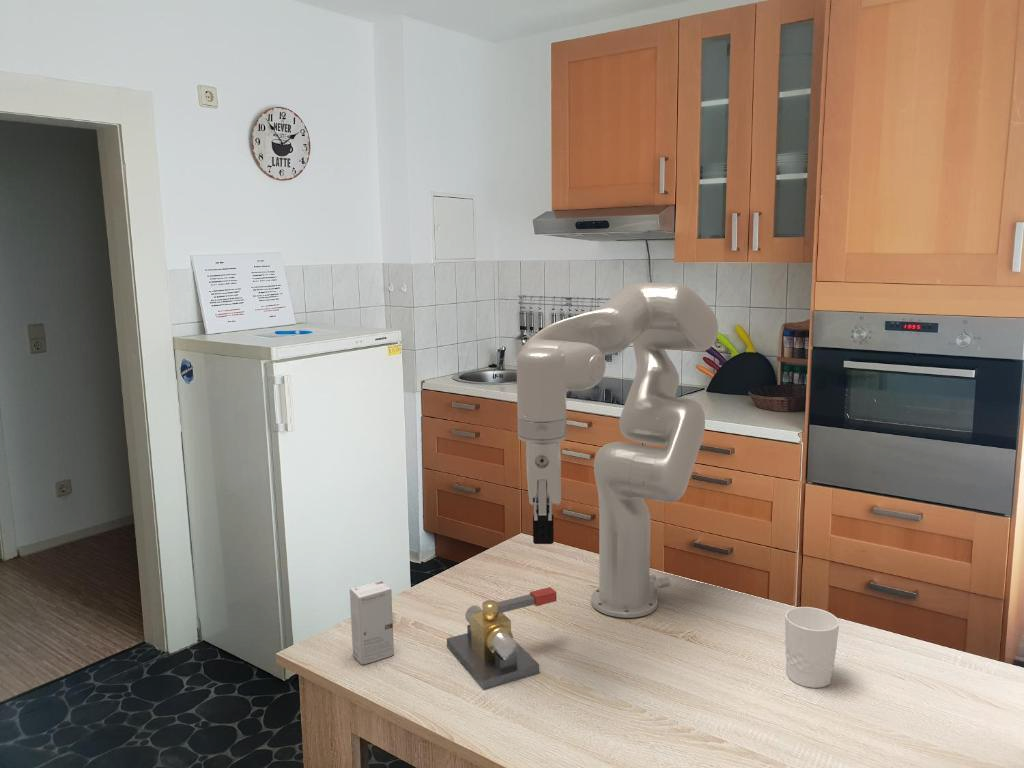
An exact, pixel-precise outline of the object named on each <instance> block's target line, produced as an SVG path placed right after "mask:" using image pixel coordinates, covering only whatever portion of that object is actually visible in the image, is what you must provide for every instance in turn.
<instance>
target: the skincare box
mask: <svg viewBox="0 0 1024 768" xmlns="http://www.w3.org/2000/svg"><path fill="white" fill-rule="evenodd" d="M392 594H393V593H392V588H391V587H389V585H387V584H386V583H385V582H383V581H382V580H380V581H375V582H371V583H365V584H363V585H360V586H356V587H350V588H349V598H350V599H349V602H350V603H349V604H350V606H349V607H350V623H351V626H350V628H351V641H352V656H354V657H355V659H356V660H357V662H358V663H360V665H362V666H364V665H366V664H369V663H373V662H377V661H380V660H383V659H387V658H390V657H393V656H394V654H395V650H394V649H395V646H394V645H395V642H394V626H393V625H394V624H393V623H394V622H393V619H394V618H393V600H392V599H393V598H392V597H393V595H392Z"/></svg>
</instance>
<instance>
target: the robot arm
mask: <svg viewBox="0 0 1024 768" xmlns="http://www.w3.org/2000/svg"><path fill="white" fill-rule="evenodd" d="M718 333H719V324H718V319H717V316H716V314H715V312H714V310H713V309H712V307H710V305H708V303H707V302H705V301H704V299H702V297H700V295H699V294H697V293H696V291H694V290H693V289H691V288H690V287H688V286H687V285H685V284H682V283H677V282H646V281H644V282H641V281H640V282H634V283H631V284H629V285H627V286H625V287H624V288H622V289H620V290H619V291H618V292H616V293H615V294H614V295H613V296H612V297H610V298H609V299H608V300H606V302H604V303H603V304H601V305H600V306H599V307H598V308H595V309H593V310H589V311H586V312H583V313H580V314H577V315H574V316H571V317H568V318H565V319H562V320H559V321H555V322H554V323H551V324H549V325H547V326H545V327H543V328H541V329H540V330H539V331H538V332H536V333H534V335H532V336H531V337H529V339H528V340H526V342H525V343H524V344H523V346H522V348H521V349H520V351H519V353H518V355H517V358H516V390H517V391H516V395H517V397H516V399H517V402H516V404H517V439H518V440H520V441H522V442H525V461H526V478H527V479H526V480H527V492H528V493H527V495H528V501H529V504H530V505H532V506H533V515H532V517H533V518H532V542H533V543H532V544H534V545H553V544H554V542H555V539H554V537H555V536H554V533H555V532H554V514H553V509H552V507H553V505H556V506H559V505H561V503H562V455H561V454H562V453H561V442H563V441H565V440H566V439H567V438H568V437H567V436H568V435H567V393H568V392H572V391H573V392H574V391H575V392H577V391H586V390H590V389H592V388H594V387H595V386H597V385H598V384H599V383H600V382H601V380H602V379H603V378H604V375H605V372H606V365H607V364H606V359H605V356H608V355H612V354H616V353H619V352H620V353H621V352H622V351H624V350H626V349H627V348H628V347H629V346H630V345H631V344H632V347H633V351H634V355H635V361H636V370H635V376H634V378H633V380H632V384H631V385H630V390H629V391H628V395H627V398H626V400H625V403H624V405H623V408H622V411H621V414H620V417H619V422H618V423H619V431H620V433H621V435H622V436H623V437H625V438H626V439H628V440H630V441H632V442H636V443H632V442H626V441H613V442H608V443H606V444H605V445H603V446H601V447H600V448H599V450H597V452H596V454H595V457H594V461H593V473H594V480H595V484H596V489H597V495H598V509H599V511H598V516H599V521H598V523H599V525H598V527H599V528H598V530H599V533H598V534H599V535H598V536H599V538H598V539H599V542H598V543H599V545H598V546H599V550H598V552H599V553H598V555H599V557H598V558H599V561H598V564H599V566H598V567H599V568H598V570H599V572H598V577H599V578H598V579H599V580H598V582H599V583H598V584H599V585H598V588H596V589H595V590H594V591H592V593H591V595H590V603H591V605H592V606H593V608H594V609H595V610H597V612H600V613H602V614H604V615H606V616H610V617H615V618H624V619H632V618H641V617H644V616H646V615H647V616H648V615H649V614H651V613H653V612H654V611H655V610H656V609H657V607H658V597H657V595H656V594H655V593H656V592H657V591H658V589H663V588H664V589H665V588H667V587H670V586H671V581H670V578H669V577H668V576H661V577H660V578H657V577H656V575H655V574H650V572H651V569H650V568H651V565H650V564H651V563H650V562H651V561H650V560H651V515H650V511H649V510H650V509H649V507H648V505H647V503H646V501H645V500H650V501H656V502H662V503H675V502H677V501H679V500H680V499H681V498H682V497H683V495H685V493H686V491H687V488H688V485H689V481H690V479H691V478H692V477H691V476H692V473H693V469H694V467H695V465H696V461H697V458H698V454H699V451H700V448H701V445H702V442H703V439H704V434H705V429H706V416H705V411H704V408H703V407H702V405H701V404H700V403H699V402H698V401H696V400H694V399H692V398H687V397H682V396H676V395H677V394H676V393H677V390H678V386H679V384H680V375H679V373H678V371H677V368H676V366H675V364H674V363H673V361H672V359H671V358H670V357H669V355H668V352H667V351H666V350H672V351H686V352H687V351H688V352H705V351H707V350H709V349H710V348H712V347H713V345H714V344H715V343H716V340H717V338H718V335H719V334H718ZM639 443H641V444H639ZM649 445H652V446H649ZM656 446H659V447H656ZM665 447H666V448H665Z"/></svg>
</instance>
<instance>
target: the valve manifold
mask: <svg viewBox="0 0 1024 768" xmlns="http://www.w3.org/2000/svg"><path fill="white" fill-rule="evenodd" d="M464 618H465V620H466V622H468V624H467V626H466V627H467V628H466V629H467V633H462V634H458V635H455V636H451V637H448V638H446V647H447V649H448V650H449V651H450V652H451V653H452V654H453V655H454V657H455V658H456V659H457V660H458V661H459V662H460V664H461V665H462V666H463V667H464V668H465V669H466V670H465V671H467V672H468V673H469V674H470V676H471V677H472V678H473V679H474V680H475V682H476V683H477V684H478V685H479V686H480V687H481V689H482V690H483V691H484V690H487V689H491V688H493V687H497V686H501V685H503V684H507V683H511V682H513V681H517V680H520V679H523V678H526V677H530V676H534V675H537V674H539V673H540V663H539V662H537V660H536V659H534V658H533V657H532V656H531V655H530V654H529V653H528V651H526V650H525V648H523V647H522V646H521V645H520V644H519V643H518V642H517V641H516V640H515V639H514V636H513V633H512V620H511V619H510V618H509V617H508V616H506V614H504V612H503V613H500V614H498V617H497V618H495V619H485V618H484V617H483V608H482V607H480V606H479V605H472V606H470V607H469V608H468V609H467V610H466V611H465V617H464Z"/></svg>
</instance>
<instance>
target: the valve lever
mask: <svg viewBox="0 0 1024 768" xmlns="http://www.w3.org/2000/svg"><path fill="white" fill-rule="evenodd" d="M557 598H558V597H557V591H556V590H555V589H553V588H552V587H551V586H548V587H545V588H541V589H536V590H531V591H529V593H528V594H524V595H522V596H518V597H517V596H516V597H514V598H509V599H505V600H501V601H496V600H493V599H489V600H485V601H483V602H482V607H481V609H482V610H483V617H484V618H485V619H495V618H497V617H498V614H500V613H503V614H504V613H507V612H510V611H514V610H518V609H523V608H526V607H531V606H535V607H539V606H544V605H547V604H551V603H555V602H557Z"/></svg>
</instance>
